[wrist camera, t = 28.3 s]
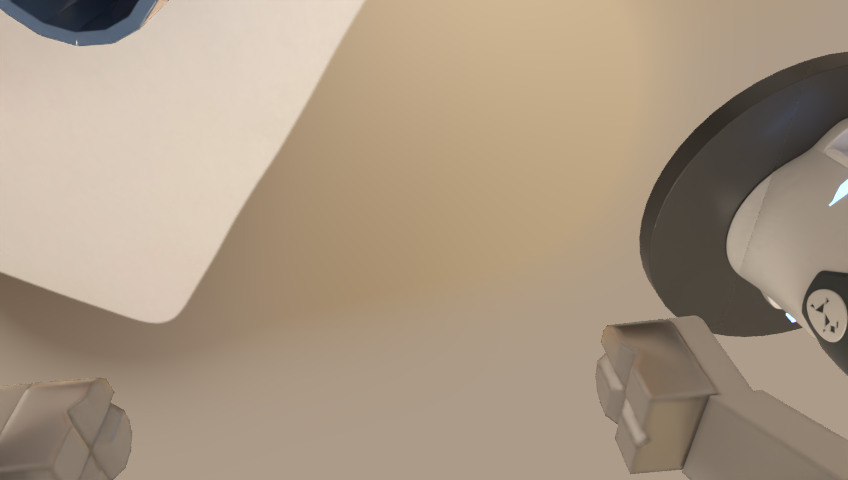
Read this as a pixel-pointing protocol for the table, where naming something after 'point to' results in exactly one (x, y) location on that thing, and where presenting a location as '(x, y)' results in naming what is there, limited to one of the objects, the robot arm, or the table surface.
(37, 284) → the table surface
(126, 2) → the blue cup
